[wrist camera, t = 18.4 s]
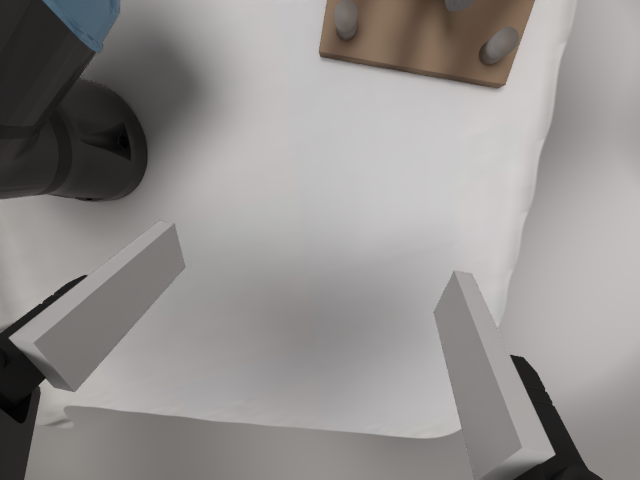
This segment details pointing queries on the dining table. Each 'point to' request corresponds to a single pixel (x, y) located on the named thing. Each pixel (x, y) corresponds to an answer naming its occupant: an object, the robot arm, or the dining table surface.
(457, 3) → the coffee mug
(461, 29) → the standoff board
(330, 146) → the dining table surface
